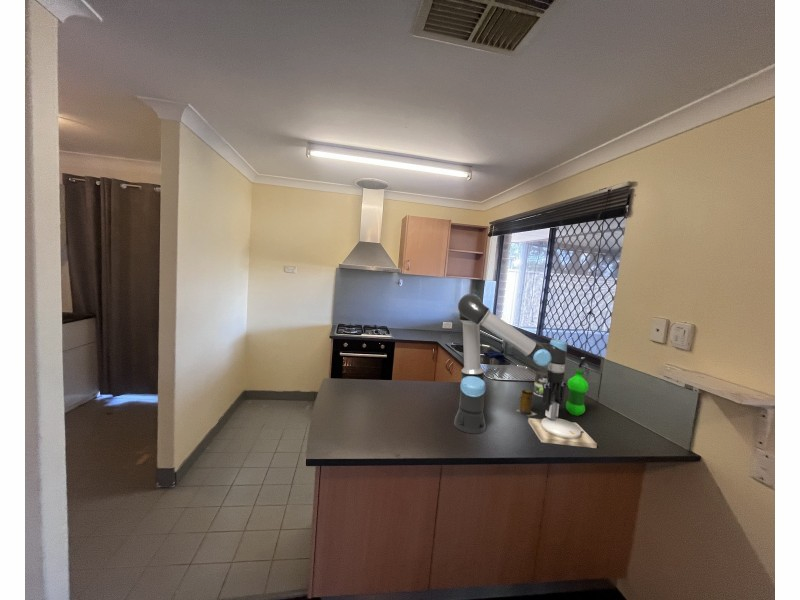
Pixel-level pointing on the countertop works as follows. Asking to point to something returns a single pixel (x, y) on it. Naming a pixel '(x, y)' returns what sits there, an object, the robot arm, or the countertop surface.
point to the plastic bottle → (577, 393)
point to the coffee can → (540, 382)
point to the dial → (560, 425)
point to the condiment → (526, 403)
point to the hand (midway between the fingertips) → (551, 415)
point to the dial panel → (549, 438)
